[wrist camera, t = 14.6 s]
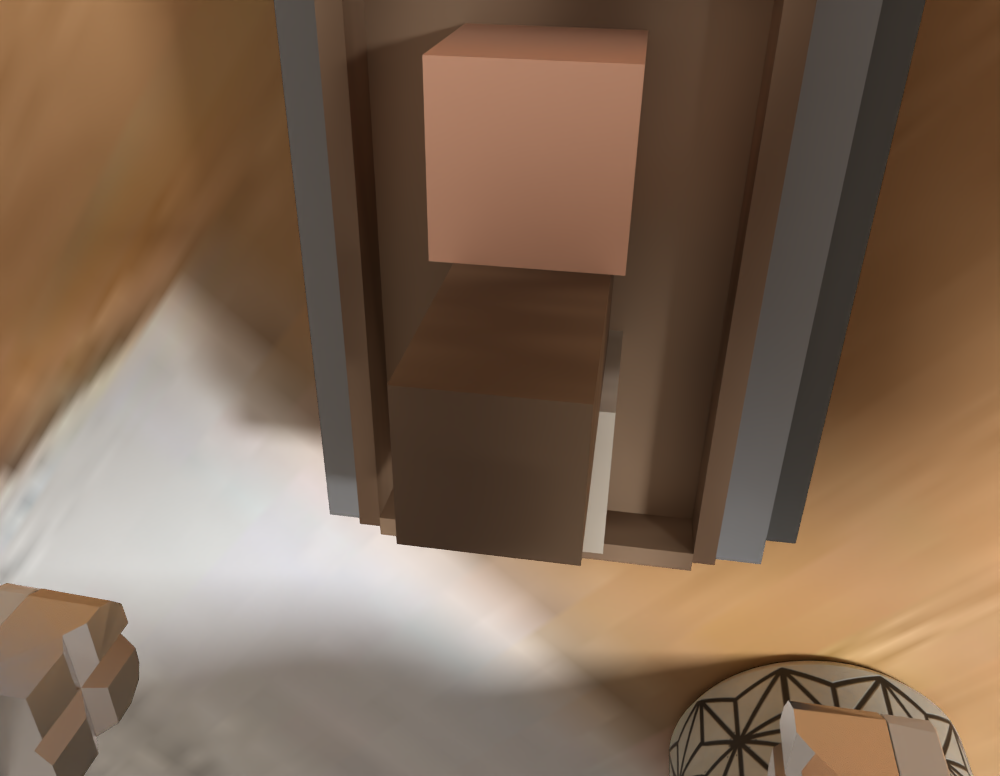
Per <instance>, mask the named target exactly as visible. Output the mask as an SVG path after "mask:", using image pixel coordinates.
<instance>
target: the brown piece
mask: <svg viewBox="0 0 1000 776" xmlns="http://www.w3.org/2000/svg"><path fill="white" fill-rule="evenodd" d="M816 3H817V0H314V4H315V16H316V27H317V38H318V50H319V61H320V73H321V84H322V95H323V107H324V118H325V130H326V141H327V152H328V164H329V175H330V187H331V198H332V210H333V221H334V232H335V244H336V255H337V267H338V278H339V289H340V301H341V312H342V324H343V335H344V346H345V358H346V369H347V381H348V392H349V403H350V415H351V426H352V438H353V449H354V460H355V472H356V483H357V495H358V506H359V517H360V524H367V525H376V526H380V529H381V534H384V535H392V536H396V539H397V544H402V545H410V546H419V547H427V548H435V549H444V550H452V551H461V552H469V553H477V554H486V555H494V556H502V557H511V558H519V559H528V560H536V561H544V562H553V563H561V564H570V565H578V566H581V559H582V558H587V559H596V560H604V561H613V562H621V563H630V564H638V565H646V566H655V567H663V568H672V569H680V570H689V571H691V566H692V562H693V563H701V564H710V565H715V559H716V554H717V548H718V543H719V537H720V532H721V526H722V521H723V515H724V510H725V504H726V499H727V493H728V488H729V482H730V477H731V471H732V466H733V460H734V455H735V449H736V444H737V438H738V432H739V427H740V421H741V416H742V410H743V405H744V399H745V394H746V388H747V383H748V377H749V372H750V366H751V361H752V355H753V350H754V344H755V339H756V333H757V328H758V322H759V317H760V311H761V306H762V300H763V295H764V289H765V284H766V278H767V273H768V267H769V262H770V256H771V251H772V245H773V240H774V234H775V229H776V223H777V218H778V212H779V207H780V201H781V196H782V190H783V185H784V179H785V174H786V168H787V163H788V157H789V152H790V146H791V141H792V135H793V130H794V124H795V119H796V113H797V108H798V102H799V96H800V91H801V85H802V80H803V74H804V69H805V63H806V58H807V52H808V47H809V41H810V36H811V30H812V25H813V19H814V14H815V8H816ZM465 23H472V24H498V25H525V26H551V27H578V28H604V29H631V30H648V39H647V50H646V61H645V71H644V82H643V93H642V104H641V115H640V126H639V136H638V147H637V158H636V169H635V180H634V190H633V201H632V212H631V222H630V232H629V243H628V253H627V263H626V273H625V276H621V275H608V274H594V273H581V272H567V271H554V270H541V269H527V268H514V267H500V266H487V265H474V264H460V263H447V262H434V261H429V254H428V221H427V189H426V157H425V124H424V92H423V60H422V55H423V54H424V53H426V52H427V51H428V50H430V49H431V48H432V47H434V46H435V45H437V44H438V43H439V42H441V41H442V40H443V39H445V38H446V37H447V36H449V35H450V34H451V33H453V32H454V31H455V30H457V29H458V28H459V27H461V26H462V25H463V24H465ZM609 330H614V331H623V337H622V348H621V359H620V370H619V381H618V392H617V403H616V414H615V425H614V436H613V447H612V458H611V469H610V480H609V492H608V503H607V514H606V525H605V536H604V547H603V554H600V553H591V552H582V551H583V543H584V535H585V526H586V518H587V510H588V502H589V493H590V485H591V477H592V469H593V460H594V452H595V444H596V436H597V427H598V419H599V411H600V403H601V394H602V386H603V378H604V370H605V361H606V353H607V345H608V337H609Z"/></svg>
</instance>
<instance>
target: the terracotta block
mask: <svg viewBox="0 0 1000 776" xmlns="http://www.w3.org/2000/svg"><path fill="white" fill-rule="evenodd" d="M647 39H648V30H631V29H604V28H578V27H551V26H525V25H498V24H472V23H465V24H463V25H462V26H461V27H459V28H458V29H457V30H455V31H454V32H453V33H451V34H450V35H449V36H447V37H446V38H445V39H443V40H442V41H441V42H439V43H438V44H437V45H435V46H434V47H432V48H431V49H430V50H428V51H427V52H426V53H424V54H423V55H422V60H423V92H424V124H425V157H426V189H427V221H428V254H429V261H434V262H447V263H460V264H474V265H487V266H500V267H514V268H527V269H541V270H554V271H567V272H581V273H594V274H608V275H621V276H625V273H626V263H627V253H628V243H629V232H630V222H631V212H632V201H633V190H634V180H635V169H636V158H637V147H638V136H639V126H640V115H641V104H642V93H643V82H644V71H645V61H646V50H647Z"/></svg>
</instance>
